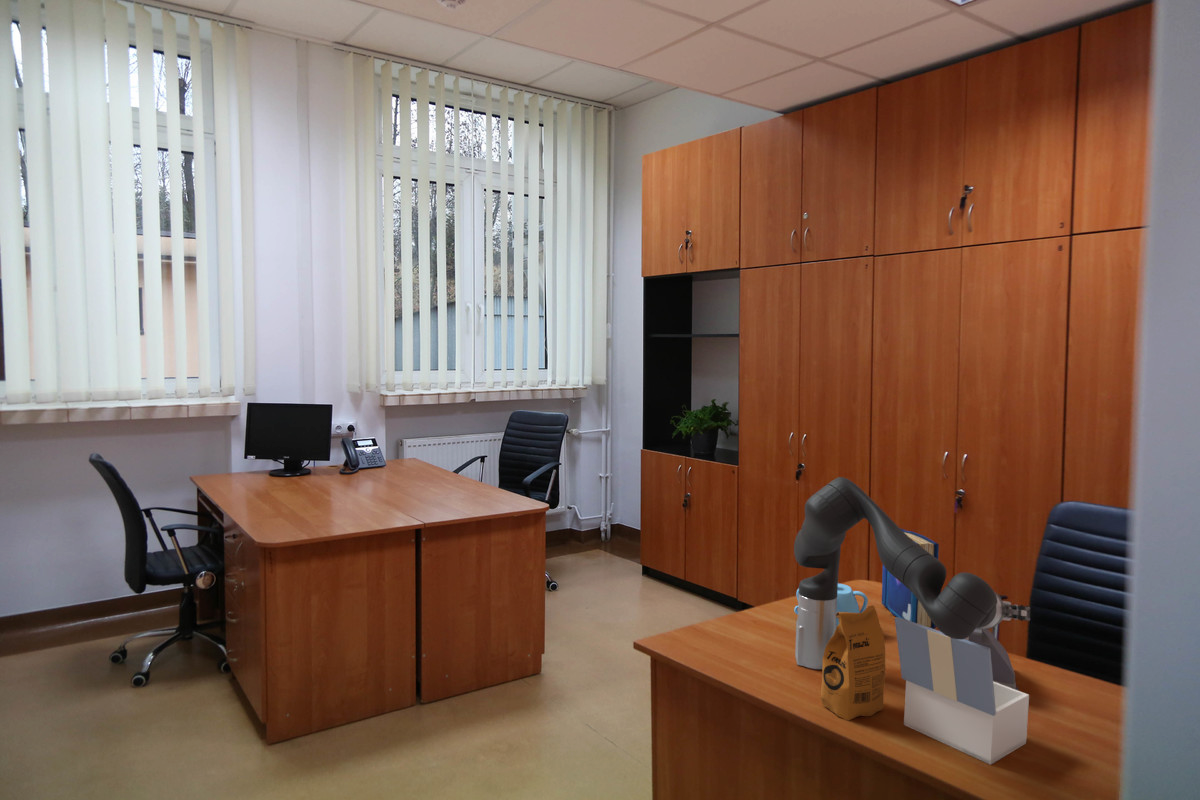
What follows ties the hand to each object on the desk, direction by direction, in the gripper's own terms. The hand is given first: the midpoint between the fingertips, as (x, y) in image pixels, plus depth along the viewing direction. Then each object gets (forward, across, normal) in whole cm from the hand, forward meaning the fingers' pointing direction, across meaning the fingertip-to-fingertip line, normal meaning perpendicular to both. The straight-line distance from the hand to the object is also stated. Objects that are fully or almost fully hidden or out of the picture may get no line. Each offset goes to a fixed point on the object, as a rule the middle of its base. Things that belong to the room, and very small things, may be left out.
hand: (990, 608), depth 146 cm
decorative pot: (+51, +46, +11) cm, 70 cm away
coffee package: (+8, +28, +25) cm, 38 cm away
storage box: (+11, +6, +26) cm, 29 cm away
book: (+72, +31, +6) cm, 78 cm away
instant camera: (+40, +9, +17) cm, 45 cm away
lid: (-1, +8, +11) cm, 14 cm away
